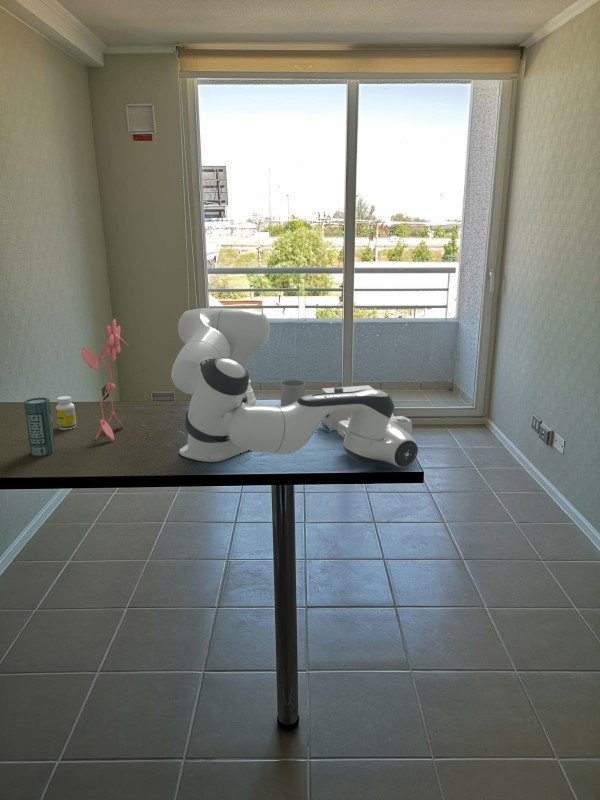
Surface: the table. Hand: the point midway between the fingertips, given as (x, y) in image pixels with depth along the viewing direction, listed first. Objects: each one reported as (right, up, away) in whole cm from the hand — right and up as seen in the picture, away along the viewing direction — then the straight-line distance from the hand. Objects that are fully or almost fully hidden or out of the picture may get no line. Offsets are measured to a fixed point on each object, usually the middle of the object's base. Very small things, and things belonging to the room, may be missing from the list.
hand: (364, 418), depth 174 cm
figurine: (-73, -5, +6) cm, 73 cm away
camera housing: (-4, -2, +16) cm, 16 cm away
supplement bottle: (-92, -3, +12) cm, 93 cm away
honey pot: (-40, 0, +26) cm, 48 cm away
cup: (-21, +2, +30) cm, 37 cm away
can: (-91, -9, -8) cm, 91 cm away
